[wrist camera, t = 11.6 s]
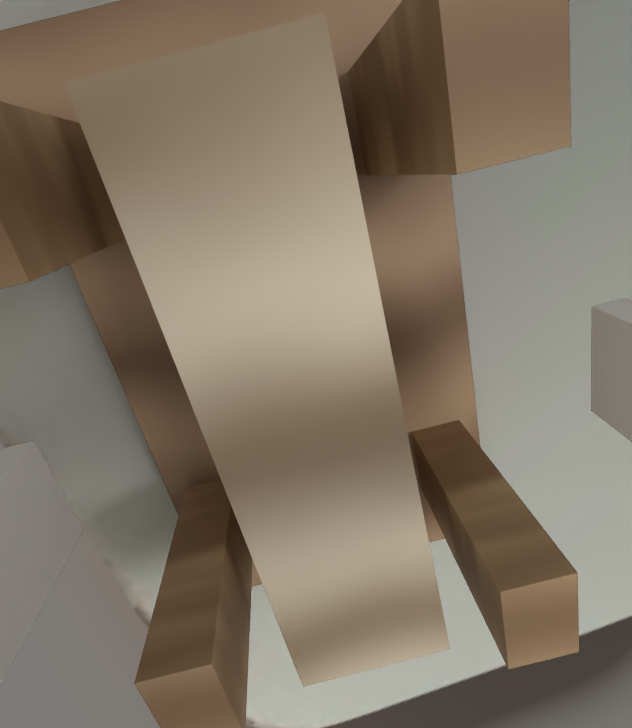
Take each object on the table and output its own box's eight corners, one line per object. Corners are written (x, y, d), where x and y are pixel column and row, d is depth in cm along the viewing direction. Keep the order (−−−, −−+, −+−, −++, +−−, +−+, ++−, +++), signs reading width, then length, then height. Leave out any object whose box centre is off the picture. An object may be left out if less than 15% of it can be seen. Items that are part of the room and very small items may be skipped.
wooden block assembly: (-1, 51, 14) (-417, -141, 6) (408, -52, 14) (623, -401, 6) (217, 570, 23) (184, 816, 14) (475, 505, 23) (603, 711, 14)
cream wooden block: (156, 124, 14) (63, 82, 8) (299, 86, 14) (325, 12, 8) (292, 525, 20) (303, 686, 14) (392, 498, 20) (449, 648, 14)
